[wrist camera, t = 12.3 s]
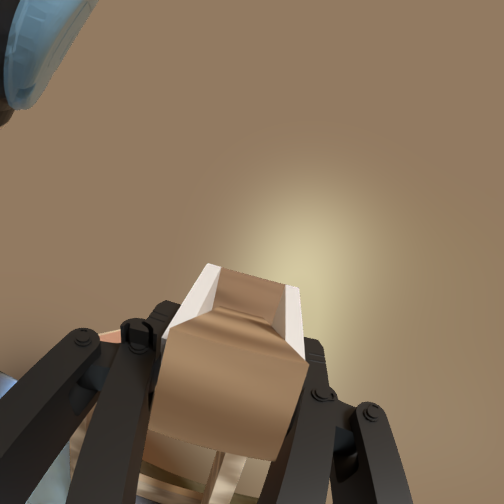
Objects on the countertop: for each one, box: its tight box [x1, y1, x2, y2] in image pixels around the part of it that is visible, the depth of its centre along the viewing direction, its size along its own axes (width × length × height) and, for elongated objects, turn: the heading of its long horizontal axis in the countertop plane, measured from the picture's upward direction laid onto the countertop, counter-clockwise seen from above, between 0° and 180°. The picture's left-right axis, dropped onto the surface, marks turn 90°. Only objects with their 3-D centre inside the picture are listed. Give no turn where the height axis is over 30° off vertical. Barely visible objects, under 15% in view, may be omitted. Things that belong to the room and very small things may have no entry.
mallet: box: [148, 267, 309, 462], centre depth 18 cm, size 24×6×6 cm, turn 2°
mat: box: [99, 331, 121, 343], centre depth 29 cm, size 8×10×1 cm
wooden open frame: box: [70, 329, 247, 504], centre depth 26 cm, size 18×14×30 cm
